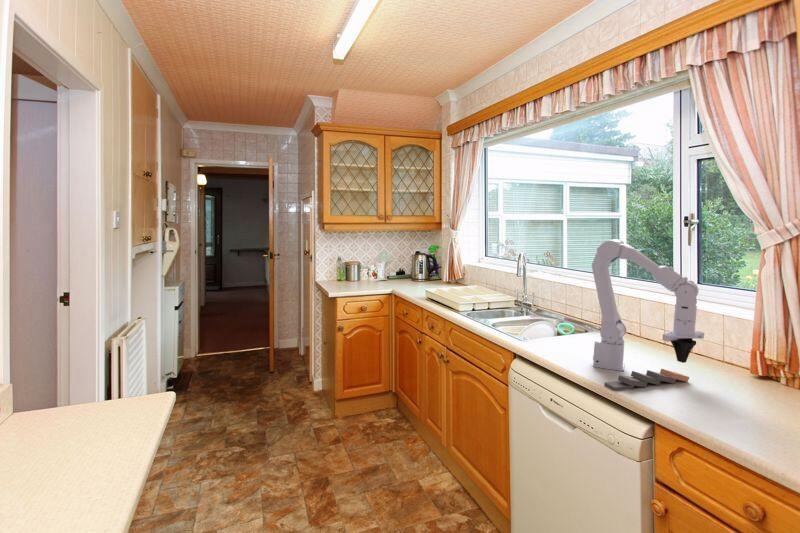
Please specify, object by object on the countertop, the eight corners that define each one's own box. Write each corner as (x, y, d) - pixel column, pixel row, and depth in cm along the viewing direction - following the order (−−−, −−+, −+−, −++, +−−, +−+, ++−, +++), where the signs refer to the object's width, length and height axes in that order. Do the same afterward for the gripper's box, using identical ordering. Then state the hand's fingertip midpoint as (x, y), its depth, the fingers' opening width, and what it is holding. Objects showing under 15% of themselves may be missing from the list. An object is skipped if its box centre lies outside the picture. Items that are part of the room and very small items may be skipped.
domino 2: (646, 387, 133) (629, 385, 130) (634, 382, 137) (617, 380, 134) (647, 382, 133) (631, 380, 130) (635, 377, 137) (619, 375, 134)
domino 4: (674, 383, 136) (657, 379, 134) (662, 378, 140) (645, 374, 138) (675, 378, 136) (659, 374, 134) (663, 374, 140) (647, 370, 138)
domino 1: (633, 390, 132) (614, 392, 130) (622, 385, 136) (604, 387, 134) (634, 385, 132) (615, 387, 130) (623, 380, 136) (604, 382, 134)
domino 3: (658, 385, 135) (642, 380, 132) (646, 380, 139) (630, 375, 136) (660, 380, 134) (643, 375, 132) (648, 375, 139) (632, 370, 136)
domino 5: (687, 381, 138) (672, 378, 135) (675, 377, 142) (659, 373, 139) (689, 377, 137) (673, 373, 135) (676, 372, 142) (661, 368, 139)
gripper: (677, 323, 132) (674, 367, 133) (714, 321, 136) (711, 363, 137) (658, 318, 138) (655, 360, 140) (693, 316, 142) (690, 356, 144)
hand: (681, 361), depth 139 cm, fingers closed
